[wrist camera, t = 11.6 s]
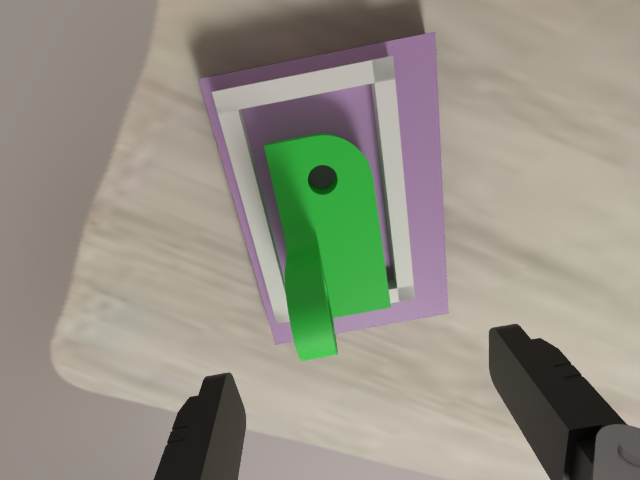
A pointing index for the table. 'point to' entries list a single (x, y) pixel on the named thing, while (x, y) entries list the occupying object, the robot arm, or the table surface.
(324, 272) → the mechanical part
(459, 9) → the table surface
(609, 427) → the robot arm
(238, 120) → the door panel
